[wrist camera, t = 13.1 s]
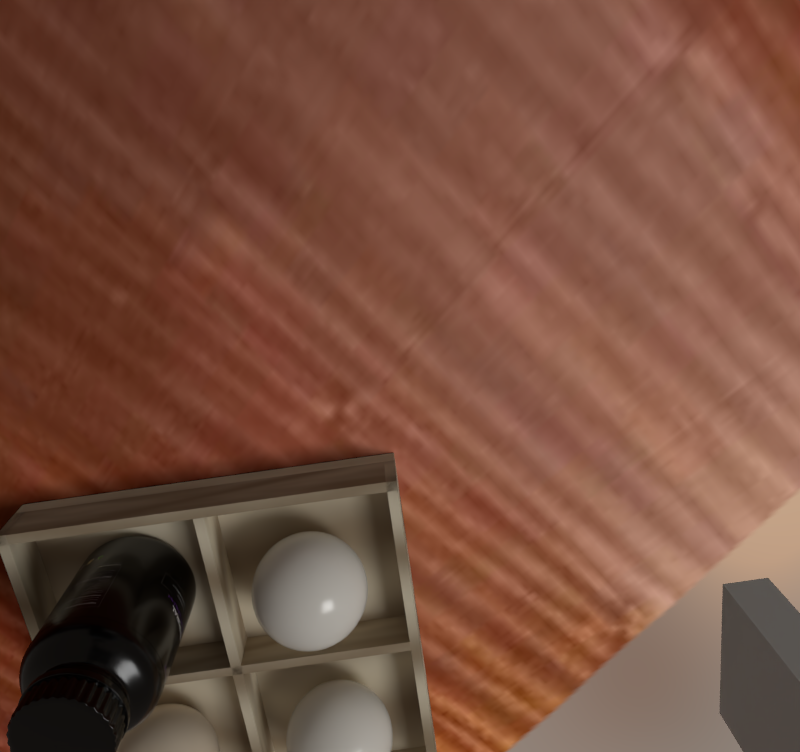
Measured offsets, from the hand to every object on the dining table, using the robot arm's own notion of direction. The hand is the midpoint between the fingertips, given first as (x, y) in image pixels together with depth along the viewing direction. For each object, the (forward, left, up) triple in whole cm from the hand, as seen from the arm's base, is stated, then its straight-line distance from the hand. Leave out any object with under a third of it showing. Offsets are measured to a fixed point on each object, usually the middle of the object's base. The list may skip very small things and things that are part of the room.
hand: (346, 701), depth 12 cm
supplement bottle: (+15, -15, -28) cm, 35 cm away
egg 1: (+25, -15, -28) cm, 41 cm away
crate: (+20, -10, -29) cm, 36 cm away
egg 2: (+15, -5, -28) cm, 32 cm away
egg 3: (+25, -5, -28) cm, 38 cm away
